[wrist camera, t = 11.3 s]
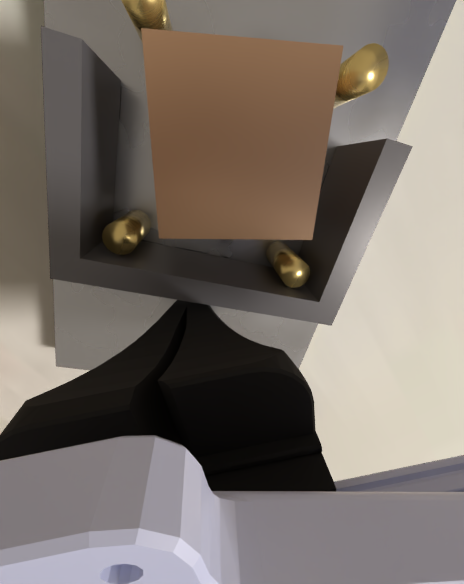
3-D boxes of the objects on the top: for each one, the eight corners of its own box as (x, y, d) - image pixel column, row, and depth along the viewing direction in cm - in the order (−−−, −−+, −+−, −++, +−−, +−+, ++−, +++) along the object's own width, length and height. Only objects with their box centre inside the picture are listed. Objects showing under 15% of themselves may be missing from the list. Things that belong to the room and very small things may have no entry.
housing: (94, 72, 8) (41, 25, 6) (355, 152, 10) (412, 146, 7) (89, 250, 11) (50, 278, 8) (303, 290, 12) (331, 325, 10)
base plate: (60, -287, 6) (-97, -786, 3) (464, -74, 9) (630, -227, 5) (67, 350, 14) (24, 409, 10) (282, 377, 16) (303, 432, 13)
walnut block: (167, 86, 9) (141, 27, 5) (287, 94, 9) (343, 45, 5) (174, 213, 10) (158, 238, 7) (275, 215, 11) (312, 239, 7)
